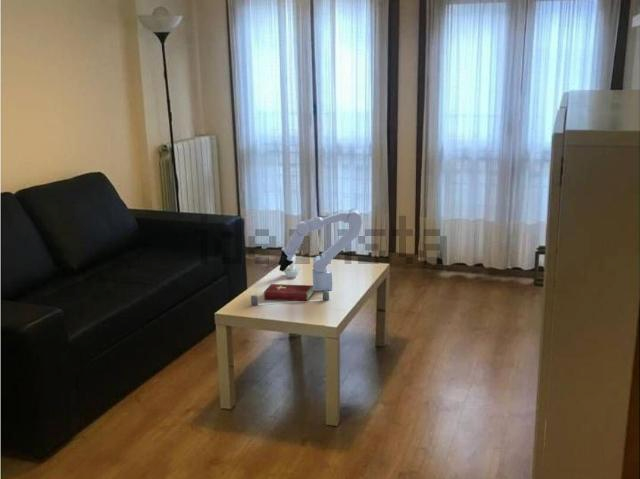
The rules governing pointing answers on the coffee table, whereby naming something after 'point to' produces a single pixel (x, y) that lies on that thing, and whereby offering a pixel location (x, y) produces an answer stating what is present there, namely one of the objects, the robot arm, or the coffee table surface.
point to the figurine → (292, 269)
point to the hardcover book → (288, 292)
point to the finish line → (255, 301)
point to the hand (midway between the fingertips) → (280, 267)
